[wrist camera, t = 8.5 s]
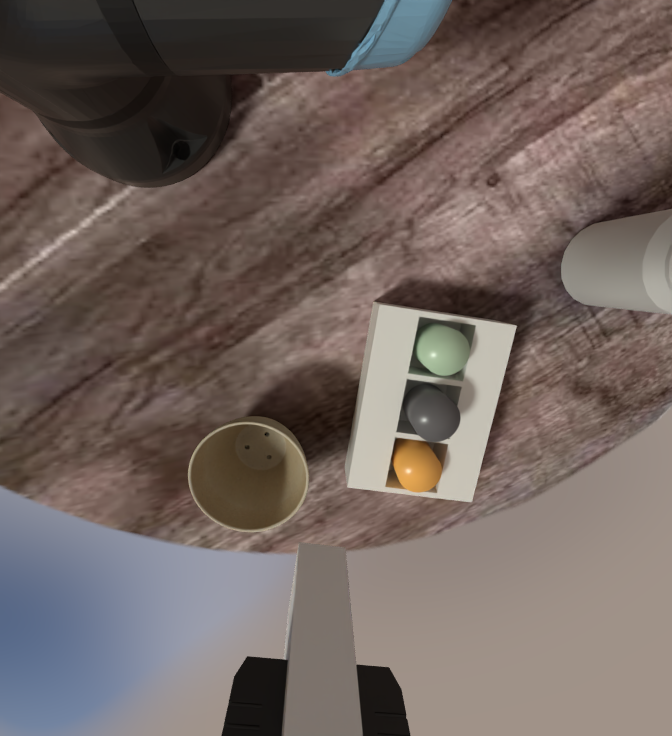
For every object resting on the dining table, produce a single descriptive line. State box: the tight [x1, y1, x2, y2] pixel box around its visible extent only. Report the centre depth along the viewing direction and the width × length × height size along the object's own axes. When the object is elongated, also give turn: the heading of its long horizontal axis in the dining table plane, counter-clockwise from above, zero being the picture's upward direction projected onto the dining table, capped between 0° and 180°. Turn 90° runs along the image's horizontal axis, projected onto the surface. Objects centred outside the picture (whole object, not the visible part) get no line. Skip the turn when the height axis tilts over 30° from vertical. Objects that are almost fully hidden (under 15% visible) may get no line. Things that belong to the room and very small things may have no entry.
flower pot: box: [188, 416, 309, 532], centre depth 36 cm, size 10×10×7 cm
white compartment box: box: [345, 301, 517, 502], centre depth 37 cm, size 17×12×4 cm
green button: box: [412, 323, 470, 376], centre depth 35 cm, size 4×4×4 cm
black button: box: [403, 384, 461, 442], centre depth 35 cm, size 4×4×4 cm
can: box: [561, 209, 672, 314], centre depth 31 cm, size 8×8×12 cm
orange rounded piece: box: [391, 438, 442, 492], centre depth 37 cm, size 4×4×4 cm
